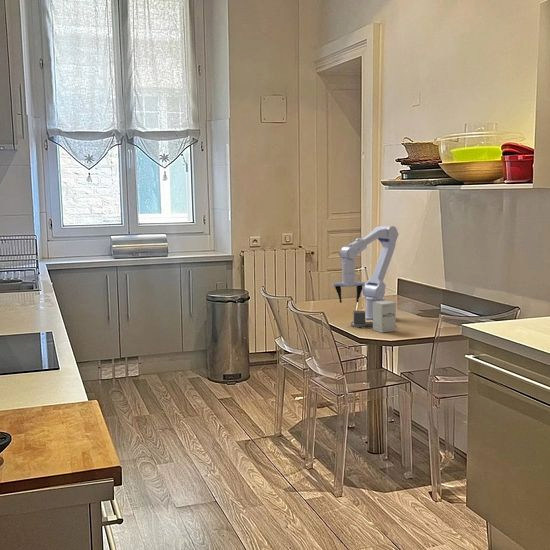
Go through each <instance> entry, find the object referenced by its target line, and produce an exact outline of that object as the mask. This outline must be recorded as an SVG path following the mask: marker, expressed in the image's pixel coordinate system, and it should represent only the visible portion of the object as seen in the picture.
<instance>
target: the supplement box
mask: <svg viewBox="0 0 550 550" xmlns="http://www.w3.org/2000/svg"><path fill="white" fill-rule="evenodd" d="M385 300H386V299H385ZM396 306H397V305H396V302H395V301H390V300H386V301H377V302H373V319H372V322H373V327H372V330H373V331H376V332H378V333H380V332H381V333H387V332H389V333H390V332H396V327H397V326H396V321H397V320H396V319H397V318H396V315H397V314H396V311H397V310H396V309H397V307H396Z"/></svg>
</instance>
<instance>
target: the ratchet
mask: <svg viewBox="0 0 550 550" xmlns="http://www.w3.org/2000/svg"><path fill="white" fill-rule="evenodd" d="M351 326H352V327H351ZM367 326H373V321H365V324H354V322H353V321H351V322H350V327H351V328H354V327H365V328H367Z"/></svg>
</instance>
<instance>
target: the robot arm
mask: <svg viewBox="0 0 550 550" xmlns="http://www.w3.org/2000/svg"><path fill="white" fill-rule="evenodd" d="M398 237H399V232H398V228H397V227H396V226H394V225H391V226H389V225H381V224H380V225H377V226H376V227H374V228H373V230H372V231H371V232H369V233H368V234H367V235H365V236H364V237H363V238H361V237H359V238H356V239H355V240H354V241H352V242H351V243H348V245H347V246H342V247H341V248H340V250H339V252H338V256H339V257H340V261H341V271H342V272H341V273H342V276H341V277H342V281H339V282H338V281H337V282H332V288H334V289H335V291H336V292H337V295H338V300H339V303H340V304H341V303H342V301H343V300H342V288H343V287H345V288H346V287H348V288H350V287H355V289H356V299H355V300H356V301H355V302H356V303H359V299H360V296H361V293H362V295H363V296H364V299H365V320H373V302H377V301H386V298H384V297H385V293H386V287H387V285H386V284H385V282H384V281H385V278H386V274H387V272H388V268H389V265H390V262H391V260H392V257H393V254H394V252H395V249H396V244H397V243H396V242H397V239H398ZM376 240H378V242H379V243H380V245H382V248H381V251H380V254H379V258H378V260H377V262H376V265H375V268H374V271H373V273H372V276H371V277H370V278H369V279H367V281H366V282H365V281H356V275H355V274H356V273H355V272H356V265H355V264H356V262H355V260H356V259H357V257H358V256H359V254H360V253H361V252H363V251H365V250H366V249H367V248H368V247H367V246H368V245H369V244H371V243H373V242H374V241H376Z"/></svg>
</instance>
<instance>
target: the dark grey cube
mask: <svg viewBox="0 0 550 550" xmlns="http://www.w3.org/2000/svg"><path fill="white" fill-rule="evenodd" d="M365 315H366V310H353V314H352V316H353V321H352V322H354V324H365V322H366V318H365Z"/></svg>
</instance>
